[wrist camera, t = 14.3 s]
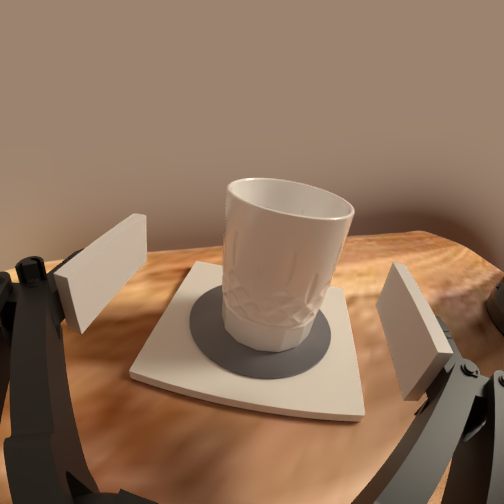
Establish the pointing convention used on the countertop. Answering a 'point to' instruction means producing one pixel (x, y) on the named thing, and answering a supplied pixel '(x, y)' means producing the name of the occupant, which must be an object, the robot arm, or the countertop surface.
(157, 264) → the countertop surface
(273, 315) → the white cup
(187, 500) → the countertop surface
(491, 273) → the countertop surface
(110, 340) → the countertop surface
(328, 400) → the trivet
